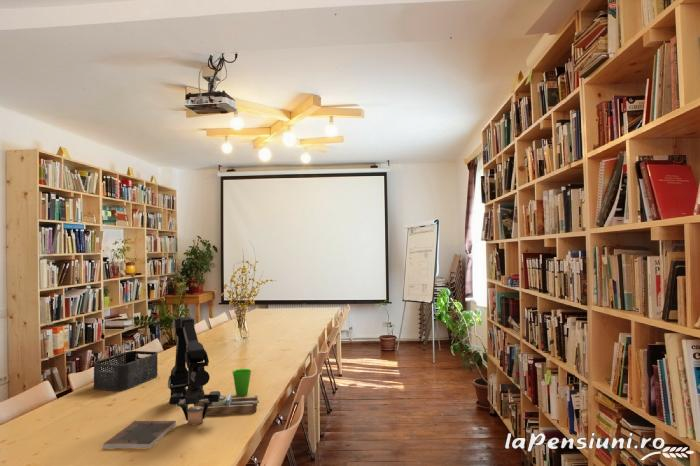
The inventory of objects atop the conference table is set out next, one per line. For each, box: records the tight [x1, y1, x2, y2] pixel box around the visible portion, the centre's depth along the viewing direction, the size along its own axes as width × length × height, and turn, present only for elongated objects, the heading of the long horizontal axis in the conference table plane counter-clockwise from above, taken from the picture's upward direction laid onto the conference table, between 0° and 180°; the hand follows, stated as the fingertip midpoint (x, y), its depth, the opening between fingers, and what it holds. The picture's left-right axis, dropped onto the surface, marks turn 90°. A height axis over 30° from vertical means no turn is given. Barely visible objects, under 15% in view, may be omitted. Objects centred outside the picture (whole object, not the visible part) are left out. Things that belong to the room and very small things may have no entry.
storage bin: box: [93, 350, 159, 392], centre depth 238 cm, size 29×19×13 cm
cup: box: [231, 368, 252, 397], centre depth 215 cm, size 9×9×11 cm
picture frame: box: [102, 420, 177, 450], centre depth 167 cm, size 16×2×22 cm
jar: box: [187, 405, 204, 425], centre depth 180 cm, size 6×6×5 cm
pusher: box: [226, 393, 260, 406], centre depth 195 cm, size 13×8×5 cm, turn 98°
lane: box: [193, 395, 259, 416], centre depth 194 cm, size 27×11×4 cm, turn 98°
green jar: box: [212, 394, 226, 407], centre depth 194 cm, size 6×6×5 cm
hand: (195, 419), depth 180 cm, fingers closed on jar, 6 cm apart
